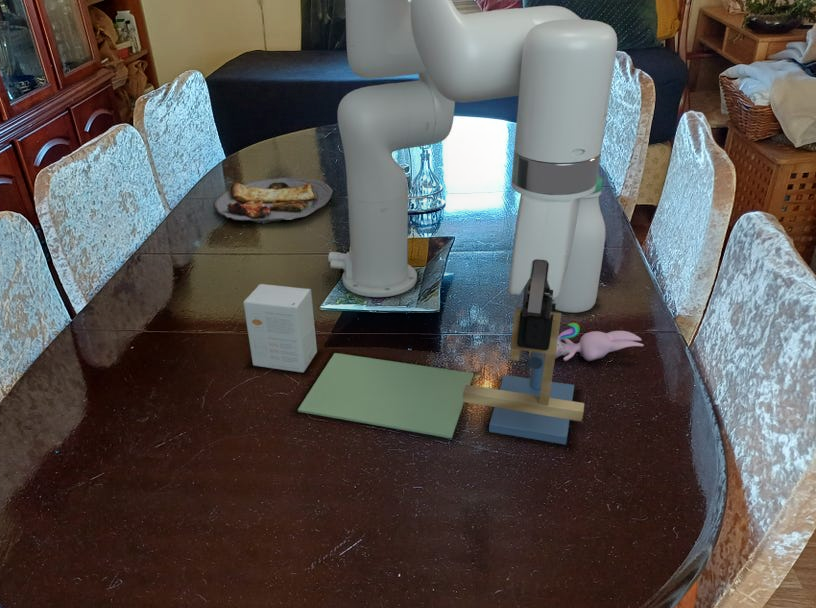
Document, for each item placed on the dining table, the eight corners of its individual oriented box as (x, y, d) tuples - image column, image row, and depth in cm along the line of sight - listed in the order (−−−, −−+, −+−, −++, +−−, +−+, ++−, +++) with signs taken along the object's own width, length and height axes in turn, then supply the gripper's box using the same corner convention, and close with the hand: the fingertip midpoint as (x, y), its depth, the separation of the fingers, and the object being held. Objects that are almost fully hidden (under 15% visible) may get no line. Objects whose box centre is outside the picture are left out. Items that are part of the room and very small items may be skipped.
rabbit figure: (531, 377, 99) (647, 365, 96) (527, 340, 96) (648, 327, 93) (527, 352, 105) (637, 340, 101) (523, 317, 101) (637, 303, 98)
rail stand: (488, 431, 88) (494, 353, 82) (503, 381, 97) (509, 308, 90) (565, 445, 85) (578, 365, 79) (573, 392, 94) (584, 316, 88)
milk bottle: (597, 315, 110) (618, 187, 99) (544, 312, 111) (559, 186, 100) (593, 291, 116) (611, 169, 105) (543, 289, 118) (556, 168, 107)
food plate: (202, 228, 147) (199, 212, 145) (230, 188, 166) (228, 173, 164) (324, 228, 144) (323, 211, 142) (338, 187, 163) (337, 172, 161)
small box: (318, 353, 105) (312, 288, 99) (303, 374, 101) (297, 307, 95) (267, 346, 107) (259, 282, 102) (251, 366, 103) (242, 300, 97)
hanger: (462, 402, 83) (468, 308, 76) (465, 394, 84) (471, 301, 77) (581, 421, 79) (598, 325, 72) (582, 413, 80) (599, 317, 73)
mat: (298, 411, 93) (297, 409, 93) (334, 355, 104) (334, 352, 104) (451, 438, 87) (451, 436, 87) (473, 375, 98) (473, 373, 98)
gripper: (524, 142, 73) (509, 301, 83) (499, 198, 61) (485, 377, 71) (602, 146, 71) (577, 310, 81) (592, 205, 59) (564, 389, 69)
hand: (534, 340), depth 76 cm, fingers closed on hanger, 1 cm apart
